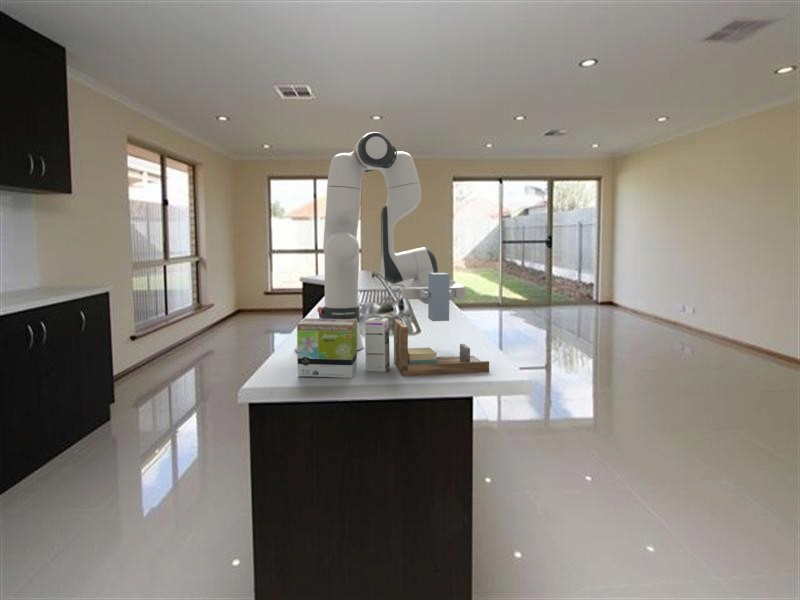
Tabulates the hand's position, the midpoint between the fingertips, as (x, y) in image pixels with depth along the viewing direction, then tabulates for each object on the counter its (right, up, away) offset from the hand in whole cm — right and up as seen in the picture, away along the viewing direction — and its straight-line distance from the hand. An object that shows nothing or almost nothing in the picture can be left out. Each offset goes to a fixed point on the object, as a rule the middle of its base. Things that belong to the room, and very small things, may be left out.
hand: (439, 295), depth 162 cm
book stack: (-6, -20, -10) cm, 23 cm away
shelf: (0, -21, -8) cm, 23 cm away
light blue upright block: (0, -7, +1) cm, 8 cm away
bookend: (+9, -20, -9) cm, 23 cm away
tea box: (-32, -22, -14) cm, 41 cm away
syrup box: (-18, -21, -10) cm, 30 cm away
